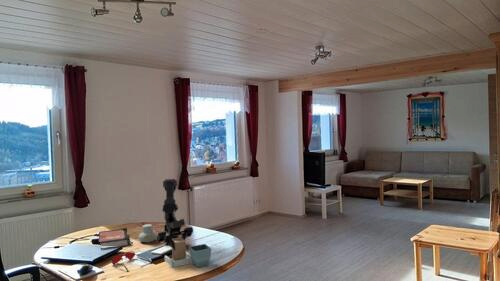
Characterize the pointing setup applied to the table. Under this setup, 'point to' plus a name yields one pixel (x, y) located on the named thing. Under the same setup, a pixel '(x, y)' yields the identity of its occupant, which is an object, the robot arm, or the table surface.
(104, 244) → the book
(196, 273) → the table surface
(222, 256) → the table surface
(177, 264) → the bay
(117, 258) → the glasses
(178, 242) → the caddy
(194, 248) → the flower pot
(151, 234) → the air freshener
